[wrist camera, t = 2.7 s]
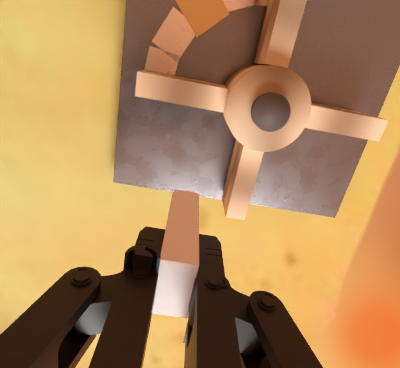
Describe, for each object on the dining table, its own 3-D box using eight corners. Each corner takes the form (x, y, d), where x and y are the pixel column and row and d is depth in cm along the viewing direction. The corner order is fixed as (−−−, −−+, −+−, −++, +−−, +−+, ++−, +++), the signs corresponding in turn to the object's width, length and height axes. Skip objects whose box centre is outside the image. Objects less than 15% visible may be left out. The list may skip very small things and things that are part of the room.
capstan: (134, 182, 26) (115, 220, 20) (160, -69, 19) (144, -135, 13) (319, 211, 28) (356, 256, 21) (406, -10, 21) (501, -42, 14)
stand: (117, 176, 28) (112, 183, 26) (135, -63, 21) (130, -75, 19) (328, 210, 30) (336, 219, 28) (413, 2, 23) (430, -2, 21)
